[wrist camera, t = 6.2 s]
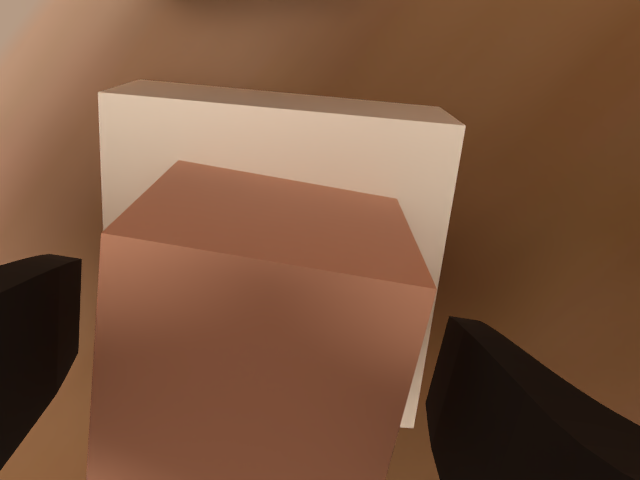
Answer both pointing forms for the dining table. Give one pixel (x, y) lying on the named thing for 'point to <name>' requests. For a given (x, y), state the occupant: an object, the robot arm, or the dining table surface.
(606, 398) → the dining table surface
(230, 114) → the cream block
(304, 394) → the terracotta cube
